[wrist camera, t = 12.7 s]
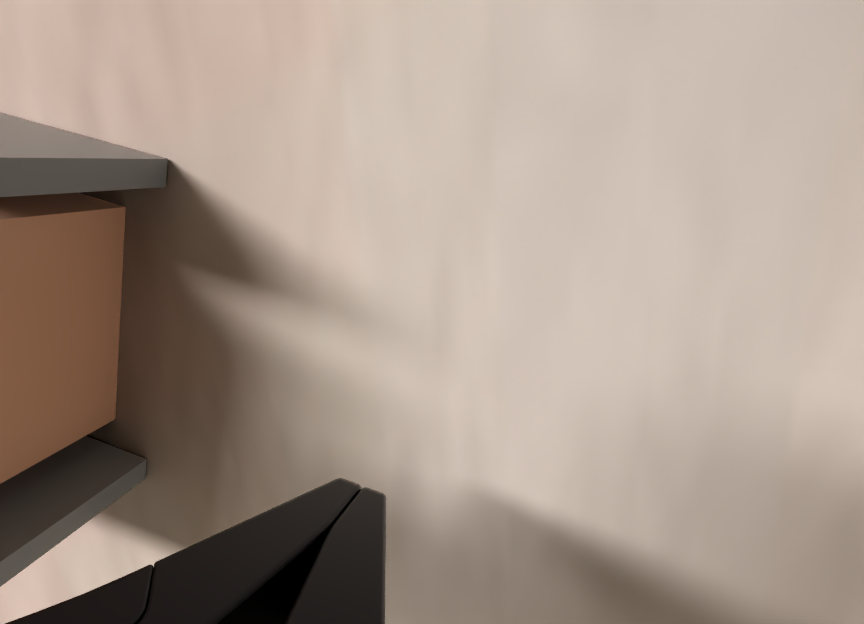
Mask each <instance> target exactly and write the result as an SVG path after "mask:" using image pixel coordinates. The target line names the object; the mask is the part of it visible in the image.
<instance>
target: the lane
mask: <svg viewBox="0 0 864 624" xmlns="http://www.w3.org/2000/svg"><path fill="white" fill-rule="evenodd" d="M167 163H168V159H166V158H163V157H159V156H155V155H152V154H148V153H145V152H141V151H137V150H134V149H130V148H126V147H123V146H119V145H116V144H112V143H108V142H105V141H101V140H98V139H94V138H90V137H87V136H83V135H79V134H76V133H72V132H69V131H65V130H61V129H58V128H54V127H50V126H47V125H43V124H40V123H36V122H32V121H29V120H25V119H22V118H18V117H14V116H11V115H7V114H3V113H0V197H14V196H30V195H46V194H62V193H79V192H95V191H111V190H127V189H144V188H160V187H166V178H167ZM146 461H147V459H145V458H142V457H139V456H137V455H134V454H131V453H129V452H126V451H124V450H121V449H118V448H116V447H113V446H111V445H108V444H105V443H103V442H100V441H98V440H95V439H92V438H90V437H87V436H84V437H82V438H81V439H79V440H77V441H75V442H74V443H72V444H70V445H68V446H67V447H65V448H63V449H61V450H59V451H58V452H56V453H54V454H52V455H51V456H49V457H47V458H45V459H43V460H42V461H40V462H38V463H36V464H35V465H33V466H31V467H29V468H28V469H26V470H24V471H22V472H20V473H19V474H17V475H15V476H13V477H12V478H10V479H8V480H6V481H4V482H3V483H1V484H0V587H1V586H2V585H3V584H5V583H6V582H7V581H9V580H10V579H11V578H13V577H14V576H15V575H17V574H18V573H19V572H21V571H22V570H23V569H25V568H26V567H27V566H29V565H30V564H31V563H33V562H34V561H35V560H37V559H38V558H39V557H41V556H42V555H44V554H45V553H46V552H48V551H49V550H50V549H52V548H53V547H54V546H56V545H57V544H58V543H60V542H61V541H62V540H64V539H65V538H66V537H68V536H69V535H70V534H72V533H73V532H74V531H76V530H77V529H78V528H80V527H81V526H82V525H84V524H85V523H86V522H88V521H89V520H90V519H92V518H93V517H94V516H96V515H97V514H99V513H100V512H101V511H103V510H104V509H105V508H107V507H108V506H109V505H111V504H112V503H113V502H115V501H116V500H117V499H119V498H120V497H121V496H123V495H124V494H125V493H127V492H128V491H129V490H131V489H132V488H133V487H135V486H136V485H137V484H139V483H140V482H141V481H143V480H144V479H145V475H146Z"/></svg>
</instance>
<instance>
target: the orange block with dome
mask: <svg viewBox="0 0 864 624" xmlns="http://www.w3.org/2000/svg"><path fill="white" fill-rule="evenodd" d="M125 210H126V207H124V206H120V205H117V204H113V203H110V202H107V201H103V200H100V199H97V198H93V197H90V196H87V195H83V194H80V193H62V194H46V195H30V196H14V197H0V484H1V483H3V482H4V481H6V480H8V479H10V478H12V477H13V476H15V475H17V474H19V473H20V472H22V471H24V470H26V469H28V468H29V467H31V466H33V465H35V464H36V463H38V462H40V461H42V460H43V459H45V458H47V457H49V456H51V455H52V454H54V453H56V452H58V451H59V450H61V449H63V448H65V447H67V446H68V445H70V444H72V443H74V442H75V441H77V440H79V439H81V438H82V437H84V436H86V435H88V434H90V433H91V432H93V431H95V430H97V429H98V428H100V427H102V426H104V425H106V424H107V423H109V422H111V421H113V420H114V419H115V416H116V395H117V375H118V354H119V333H120V313H121V292H122V272H123V251H124V231H125Z"/></svg>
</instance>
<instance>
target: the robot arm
mask: <svg viewBox="0 0 864 624" xmlns="http://www.w3.org/2000/svg"><path fill="white" fill-rule="evenodd" d="M385 549H386V496H385V495H384V494H383V493H380V492H378V491H375V490H372V489H370V488H366V487H365V488H362V489H361V486H360V485H359V484H356V483H353V482H351V481H348V480H345V479H342V478H339V479H335V480H333V481H331V482H329V483H327V484H325V485H322V486H320V487H318V488H316V489H314V490H312V491H309V492H307V493H305V494H303V495H301V496H298V497H296V498H294V499H292V500H290V501H288V502H285V503H283V504H281V505H279V506H277V507H275V508H272V509H270V510H268V511H266V512H264V513H261V514H259V515H257V516H255V517H253V518H251V519H248V520H246V521H244V522H242V523H240V524H238V525H235V526H233V527H231V528H229V529H227V530H224V531H222V532H220V533H218V534H216V535H214V536H211V537H209V538H207V539H205V540H203V541H201V542H198V543H196V544H194V545H192V546H190V547H187V548H185V549H183V550H181V551H179V552H177V553H174V554H172V555H170V556H168V557H166V558H164V559H161V560H159V561H157V562H156V563H155V564H154V568H153V565H148V566H146V567H143V568H141V569H139V570H137V571H135V572H133V573H130V574H128V575H126V576H124V577H122V578H119V579H117V580H115V581H112V582H110V583H108V584H105V585H103V586H101V587H98V588H96V589H94V590H91V591H89V592H87V593H85V594H82V595H80V596H77V597H74V598H72V599H69V600H67V601H64V602H61V603H59V604H56V605H54V606H51V607H48V608H46V609H43V610H41V611H38V612H36V613H33V614H30V615H27V616H25V617H22V618H19V619H16V620H14V621H11V622H8V623H6V624H385Z"/></svg>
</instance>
